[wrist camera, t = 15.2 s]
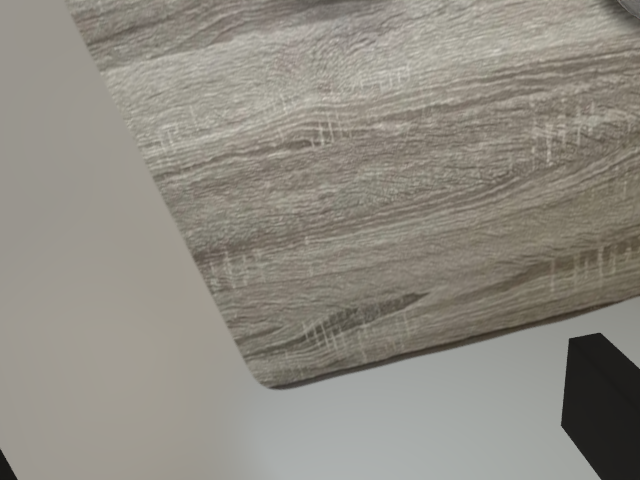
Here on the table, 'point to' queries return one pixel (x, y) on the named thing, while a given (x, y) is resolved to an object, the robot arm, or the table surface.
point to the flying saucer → (631, 6)
